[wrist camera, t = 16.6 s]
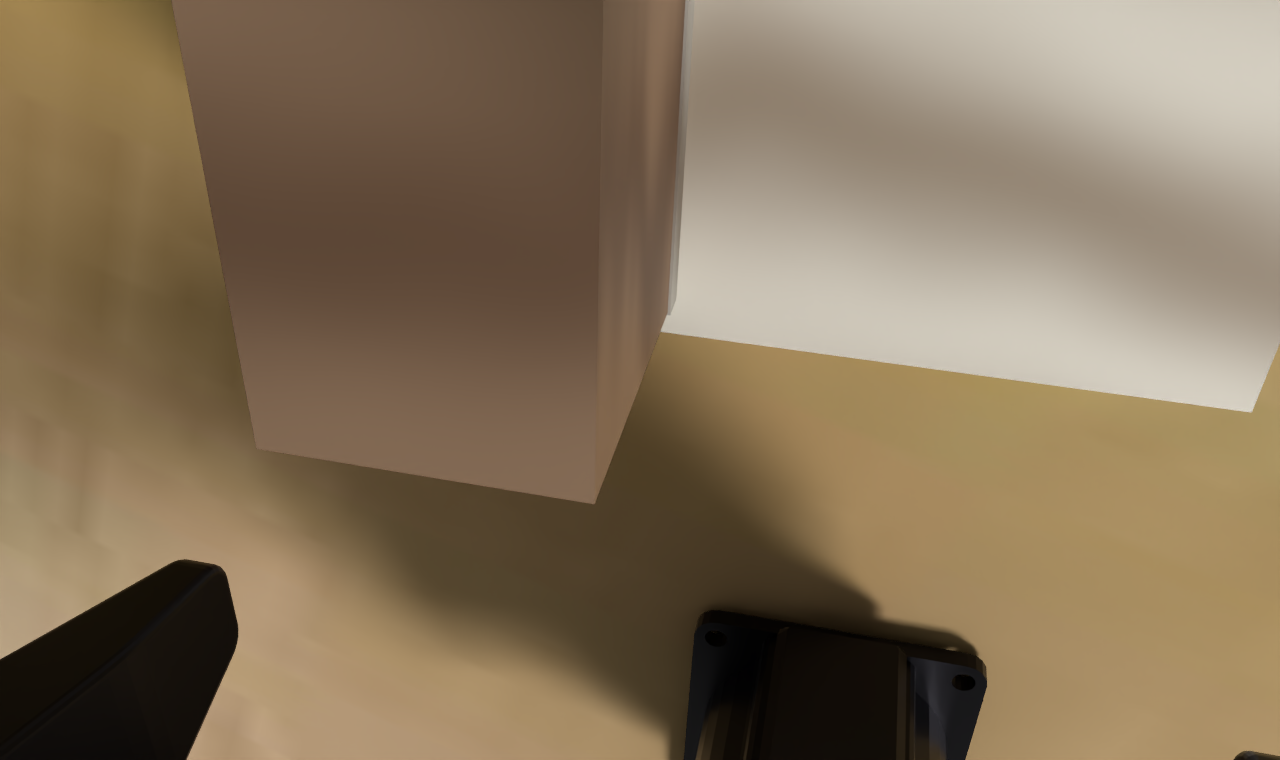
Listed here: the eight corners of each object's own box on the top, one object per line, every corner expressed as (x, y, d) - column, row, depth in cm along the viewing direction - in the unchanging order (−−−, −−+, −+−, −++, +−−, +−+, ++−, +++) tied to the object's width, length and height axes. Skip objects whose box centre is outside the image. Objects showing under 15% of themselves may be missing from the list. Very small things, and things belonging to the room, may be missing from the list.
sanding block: (676, 299, 20) (598, 507, 16) (409, 263, 21) (254, 451, 16) (702, -125, 16) (608, -26, 12) (373, -150, 17) (154, -68, 12)
